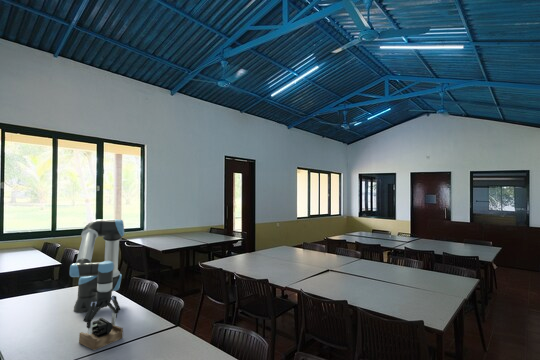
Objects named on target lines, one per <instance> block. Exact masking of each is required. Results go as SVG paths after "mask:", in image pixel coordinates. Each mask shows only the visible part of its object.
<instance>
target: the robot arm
mask: <svg viewBox="0 0 540 360" xmlns="http://www.w3.org/2000/svg"><path fill="white" fill-rule="evenodd" d="M80 236H81V241H80V246H79V249H78V253H77V258H76V262H75V263H71V264H70V266H69V276H70V277H71V278H78V284H77V286H78V287H77V288H78V289H77V299H76V301H75V303H74V305H73V311H74V312H76V313H85V315H84V318H83V320H82V321H83V322H84V323H86V329H87V333H88V334H90V335H91V334H92V325H93V322H94V321H93V319H94V318H95V316H96V315H97V314H98V313H99V311H100V310H101V309H104V308H107V307H108V308H109V310H111V311H112V312H111V320H110V321H111V322H110V323H112V325H116V321H117V318H118V314H119V312H120V311H121V310H122V309H121V307H120V304H119V302H118V300H117V296H116V295H113V292H116V291H119V290H120V286H121V282H122V276H123V275H122V273H121V272H120V271H119V269H118V268H119V266H118V265H119V251H120V240H121V239H122V237H123V236H125V225H124V220H123V219H117V218H115V219H110V218H108V219H107V218H105V219H95V220H93V221H90V222H89V223H87V224H86V225H85V226H84V228H82V231H81V234H80ZM98 237H102V239H103V241H105V245H104V247H105V248H104V261H98V262H97V261H96V262H92V258H93V255H94V250H95V244H96V239H97V238H98ZM111 302H112V303H111Z"/></svg>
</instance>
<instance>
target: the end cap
mask: <svg viewBox="0 0 540 360" xmlns="http://www.w3.org/2000/svg"><path fill="white" fill-rule="evenodd" d="M92 322H93V325H94V324H97V326H94V327H92V334H94V335H95V336H97V337H98V338H100V337H103V336H106V335H108V334H109V333H110V332H111V330H112V328H113V325H112V323H111V322H110V321H109V320H107V319H105V318H103V317H99V318H98V320H93V321H92Z"/></svg>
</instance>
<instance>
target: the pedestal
mask: <svg viewBox="0 0 540 360" xmlns="http://www.w3.org/2000/svg"><path fill="white" fill-rule="evenodd" d="M123 331H124V327H121V326H118V325H116V324H115V325H113V328H112V330H111V332H110V333H109V334H108V335H106V336H103V337H100V338H98V337H97V336H95V335H94V334H91V335H90V334H88V332H83V331H81V332H79V337H78V338H79V339H78V344H80V345H83V346H85V347H87V348H89V349H91V350H93V351H96V350H98V349H100V348H103V347H105V346H108V345H110V344H112V343H114V342H117V341H119V340H121V339H123V334H124V332H123Z"/></svg>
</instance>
